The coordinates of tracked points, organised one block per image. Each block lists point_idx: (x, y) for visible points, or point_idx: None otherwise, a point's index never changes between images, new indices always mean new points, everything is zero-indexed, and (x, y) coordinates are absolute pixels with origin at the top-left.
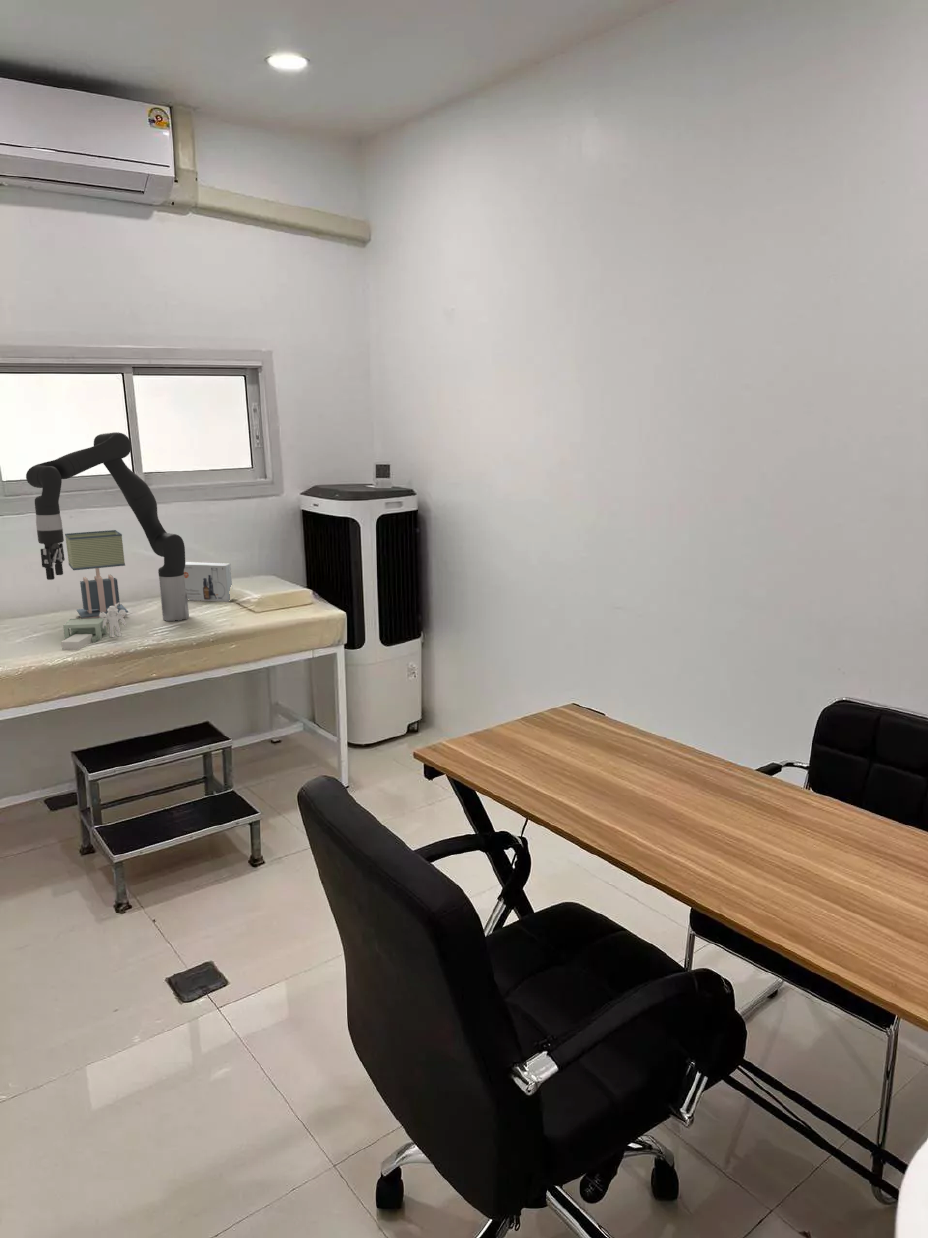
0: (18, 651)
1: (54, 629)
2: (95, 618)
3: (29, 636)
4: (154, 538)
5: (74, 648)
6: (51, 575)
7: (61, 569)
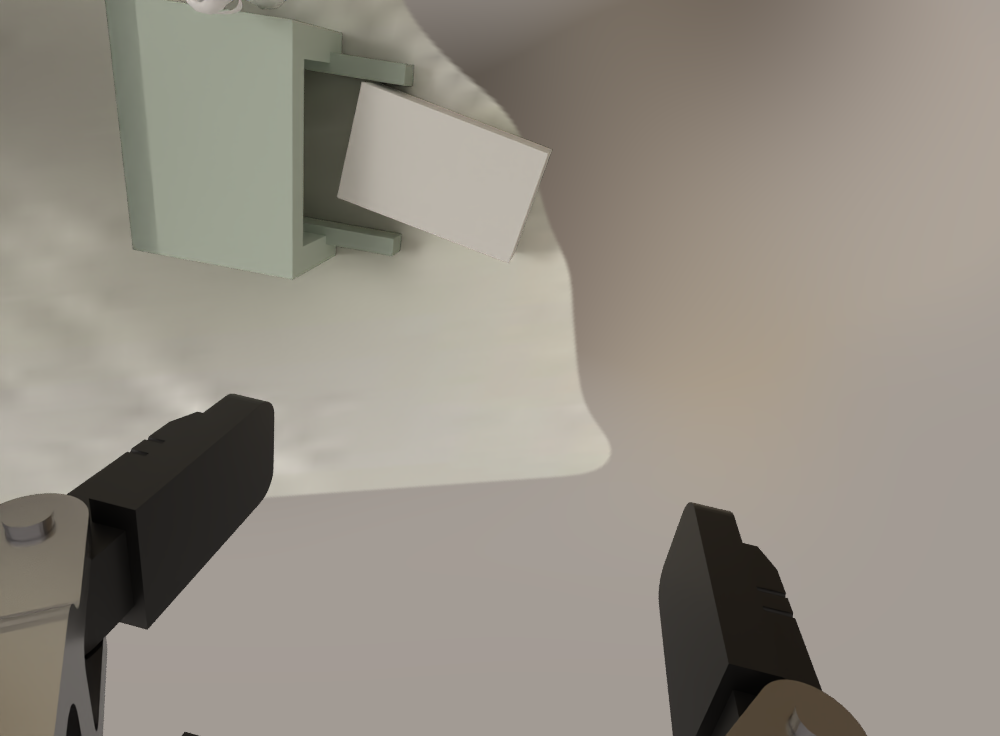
0: (485, 451)
1: (87, 332)
2: (127, 73)
3: None
4: None
5: (540, 180)
6: (782, 587)
7: (217, 452)
